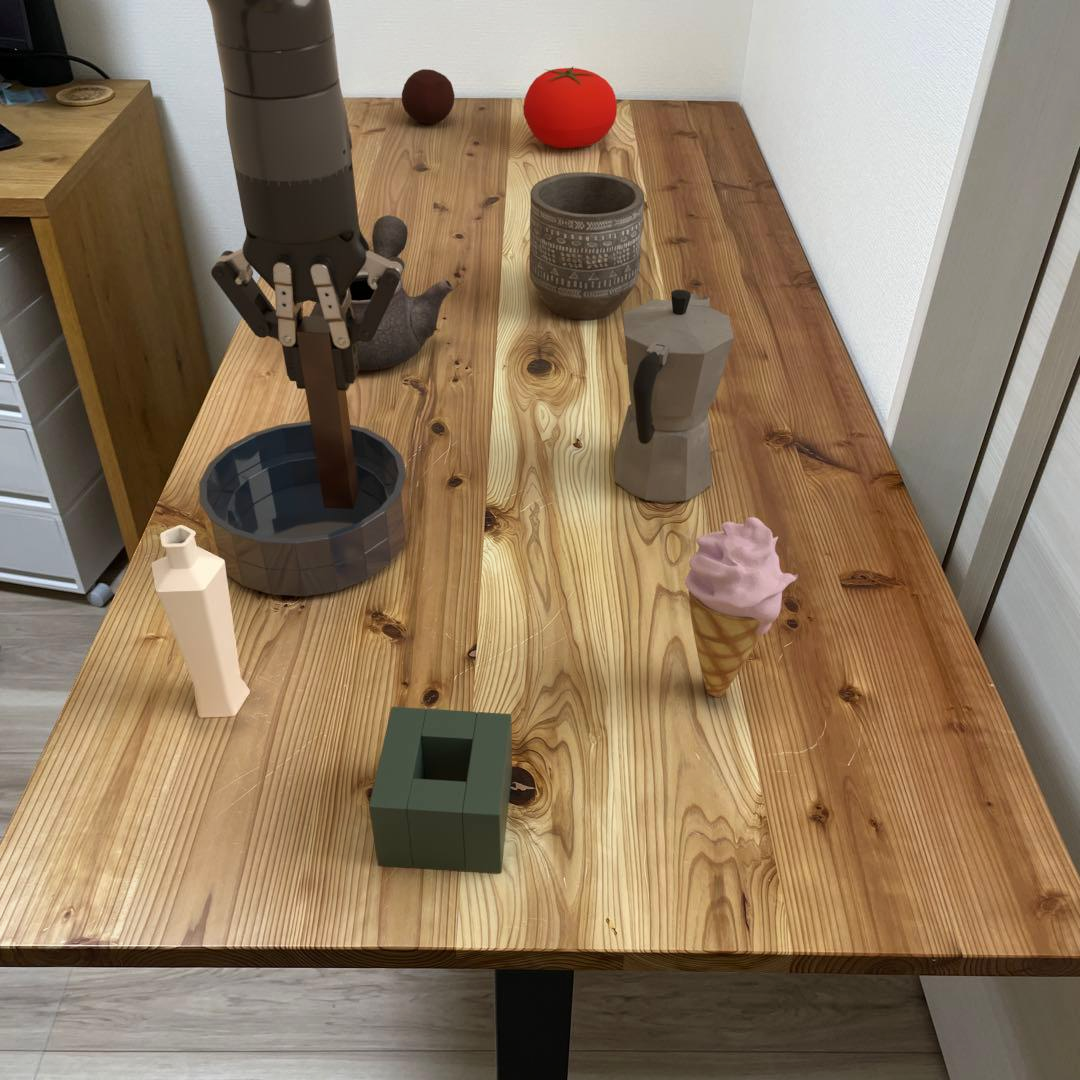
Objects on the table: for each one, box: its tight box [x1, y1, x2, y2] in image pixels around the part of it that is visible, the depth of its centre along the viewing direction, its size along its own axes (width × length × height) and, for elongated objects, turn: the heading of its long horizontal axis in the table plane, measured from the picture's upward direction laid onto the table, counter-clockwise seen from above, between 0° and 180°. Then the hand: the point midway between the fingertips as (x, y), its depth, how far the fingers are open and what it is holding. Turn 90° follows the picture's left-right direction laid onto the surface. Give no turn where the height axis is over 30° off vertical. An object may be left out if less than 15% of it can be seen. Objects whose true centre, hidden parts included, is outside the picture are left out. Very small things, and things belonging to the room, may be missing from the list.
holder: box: [368, 706, 513, 874], centre depth 66 cm, size 8×8×6 cm
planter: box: [528, 171, 645, 321], centre depth 117 cm, size 12×12×13 cm
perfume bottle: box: [151, 524, 251, 719], centre depth 71 cm, size 5×4×15 cm
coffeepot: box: [613, 289, 735, 504], centre depth 90 cm, size 15×9×18 cm, turn 156°
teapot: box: [309, 214, 454, 371], centre depth 112 cm, size 19×15×10 cm
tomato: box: [522, 66, 618, 149], centre depth 156 cm, size 14×13×10 cm
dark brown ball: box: [401, 68, 455, 125], centre depth 163 cm, size 8×9×8 cm
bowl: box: [198, 420, 412, 597], centre depth 87 cm, size 16×16×6 cm
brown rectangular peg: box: [296, 315, 359, 509], centre depth 82 cm, size 2×2×16 cm
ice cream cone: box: [685, 516, 799, 698], centre depth 72 cm, size 7×6×15 cm
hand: (325, 383), depth 80 cm, fingers closed on brown rectangular peg, 2 cm apart
